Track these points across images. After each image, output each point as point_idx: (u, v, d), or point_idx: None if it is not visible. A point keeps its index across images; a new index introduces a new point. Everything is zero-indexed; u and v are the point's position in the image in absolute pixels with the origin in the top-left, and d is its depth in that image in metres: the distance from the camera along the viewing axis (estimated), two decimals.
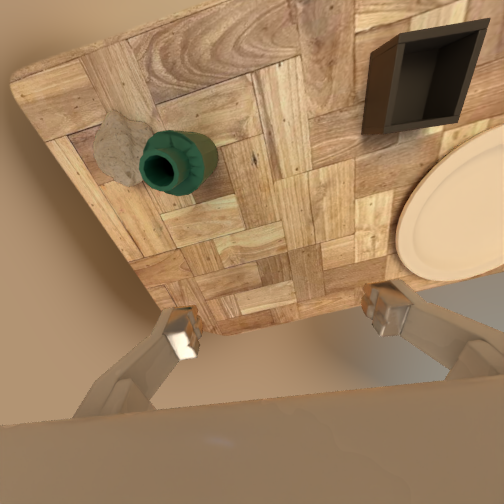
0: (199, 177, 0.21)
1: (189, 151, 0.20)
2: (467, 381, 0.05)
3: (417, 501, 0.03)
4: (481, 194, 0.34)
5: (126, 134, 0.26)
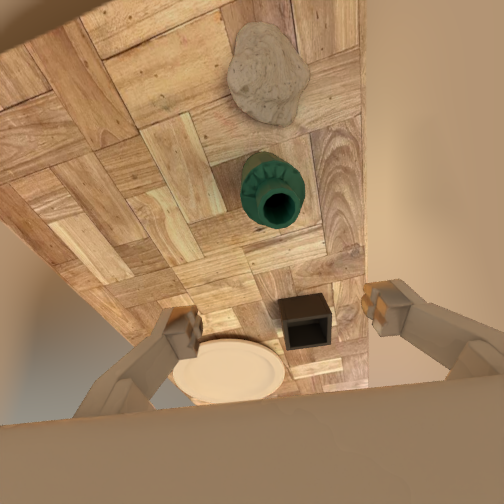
0: (261, 220, 0.20)
1: None
2: (467, 381, 0.05)
3: (417, 501, 0.03)
4: (242, 368, 0.52)
5: (289, 97, 0.22)
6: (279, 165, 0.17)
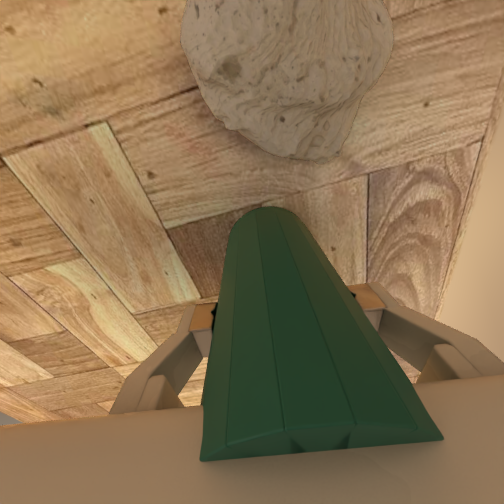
0: None
1: None
2: (467, 381, 0.05)
3: (417, 501, 0.03)
4: None
5: (348, 98, 0.08)
6: (370, 433, 0.04)
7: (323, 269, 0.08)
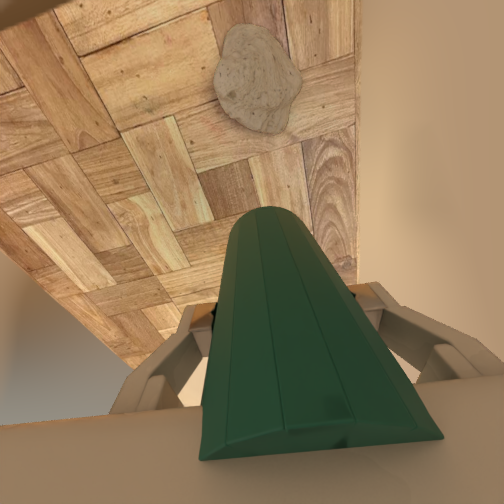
0: None
1: None
2: (467, 381, 0.05)
3: (417, 501, 0.03)
4: None
5: (279, 105, 0.21)
6: (369, 431, 0.04)
7: (323, 268, 0.08)
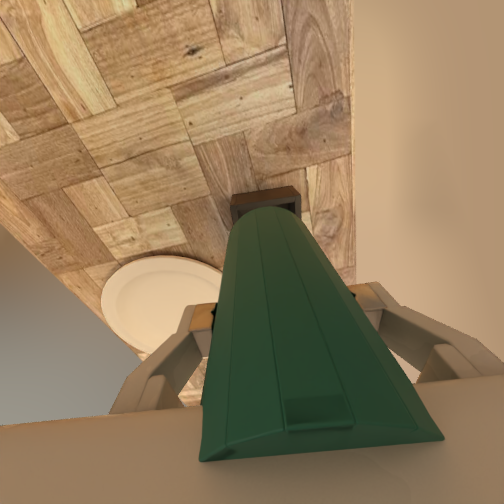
0: None
1: None
2: (467, 381, 0.05)
3: (417, 501, 0.03)
4: None
5: None
6: (370, 433, 0.04)
7: (323, 269, 0.08)
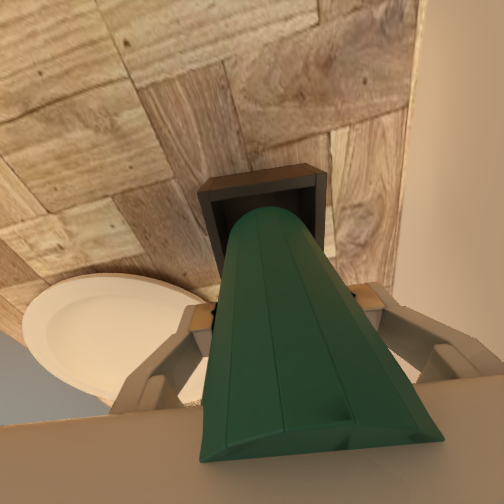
0: None
1: None
2: (467, 381, 0.05)
3: (417, 501, 0.03)
4: None
5: None
6: (370, 434, 0.04)
7: (323, 269, 0.08)
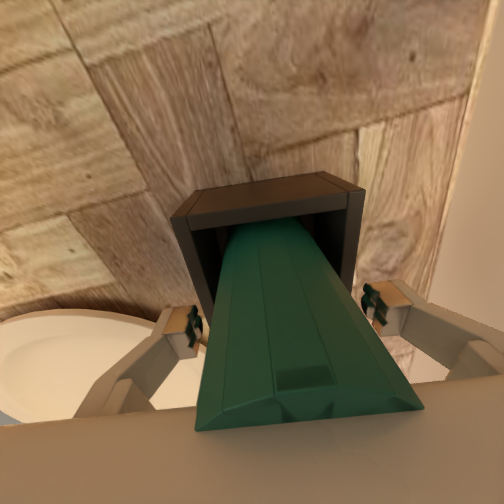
0: None
1: None
2: (467, 381, 0.05)
3: (417, 501, 0.03)
4: None
5: None
6: (352, 399, 0.04)
7: (316, 260, 0.08)
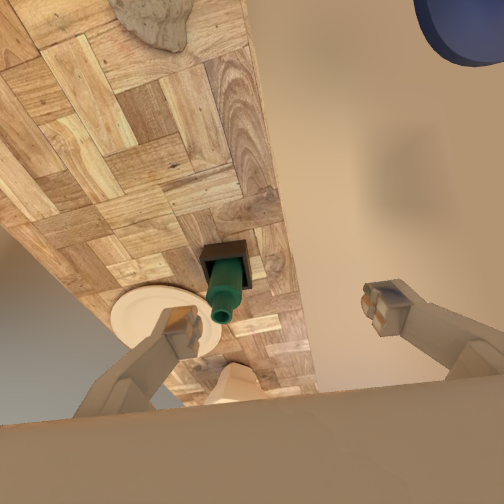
0: None
1: None
2: (467, 381, 0.05)
3: (417, 501, 0.03)
4: None
5: (165, 15, 0.24)
6: (225, 286, 0.33)
7: (232, 269, 0.37)
